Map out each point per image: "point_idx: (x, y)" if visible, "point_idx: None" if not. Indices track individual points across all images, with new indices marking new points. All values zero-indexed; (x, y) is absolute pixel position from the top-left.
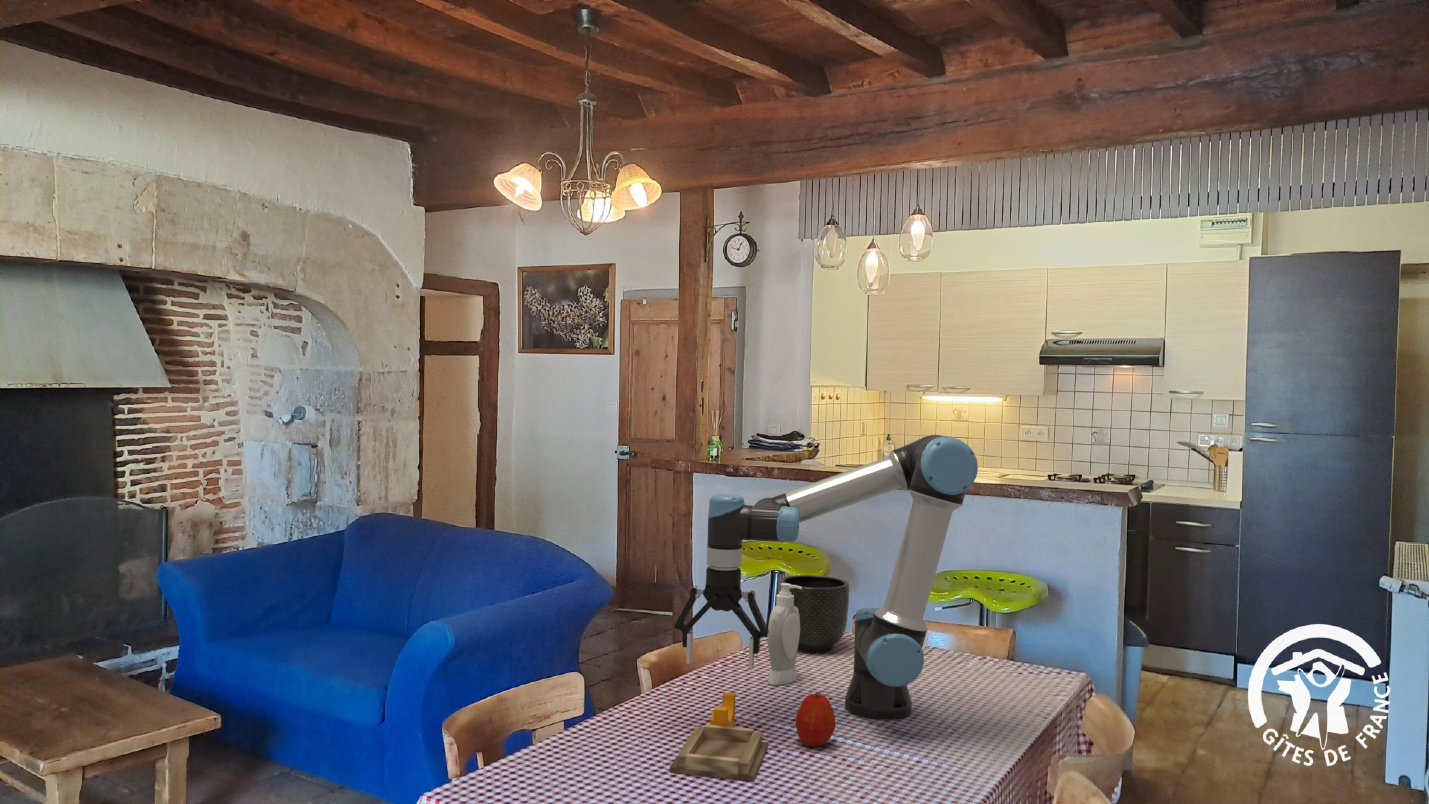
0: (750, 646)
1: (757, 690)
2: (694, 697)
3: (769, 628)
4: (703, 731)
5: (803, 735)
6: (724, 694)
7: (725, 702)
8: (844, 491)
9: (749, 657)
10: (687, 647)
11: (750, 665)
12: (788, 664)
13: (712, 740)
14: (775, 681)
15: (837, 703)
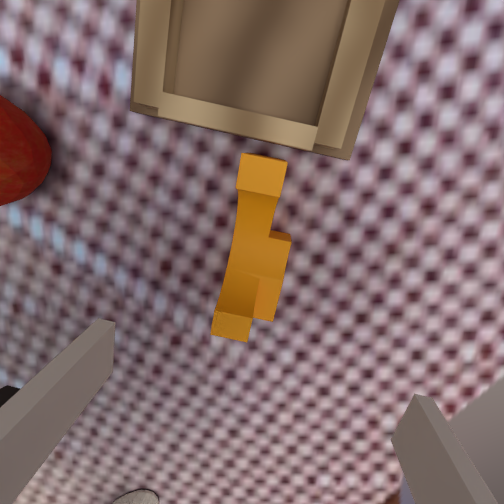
0: (2, 426)
1: (179, 467)
2: (314, 435)
3: None
4: (319, 117)
5: (16, 107)
6: (245, 320)
7: (244, 301)
8: None
9: (69, 364)
10: (486, 491)
11: (92, 333)
12: None
13: (289, 112)
14: (141, 498)
15: None
